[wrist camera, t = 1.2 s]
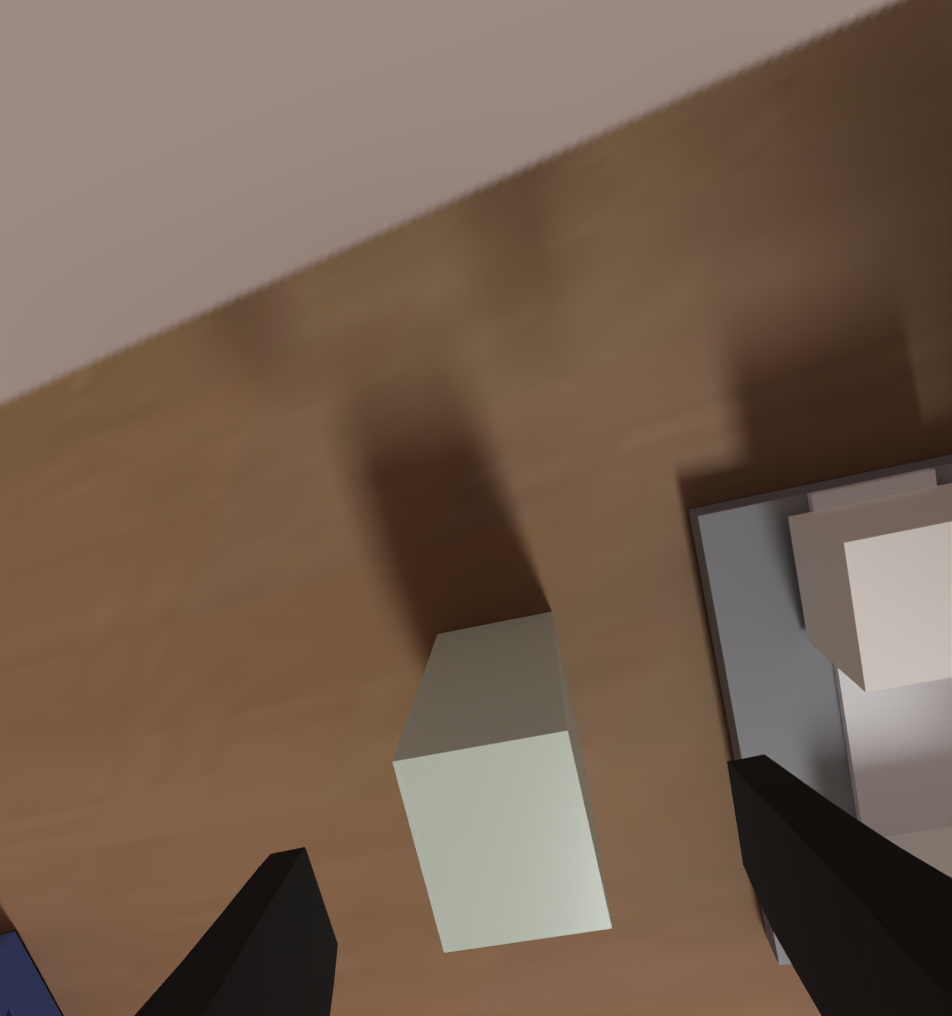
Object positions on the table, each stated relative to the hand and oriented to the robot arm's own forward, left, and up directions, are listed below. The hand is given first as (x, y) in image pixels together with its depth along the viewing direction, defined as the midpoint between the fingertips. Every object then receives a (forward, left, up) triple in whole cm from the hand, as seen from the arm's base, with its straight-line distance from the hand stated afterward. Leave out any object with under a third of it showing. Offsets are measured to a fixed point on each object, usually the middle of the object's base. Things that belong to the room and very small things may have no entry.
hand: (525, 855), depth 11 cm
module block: (-2, +1, -12) cm, 12 cm away
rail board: (-5, -11, -12) cm, 17 cm away
